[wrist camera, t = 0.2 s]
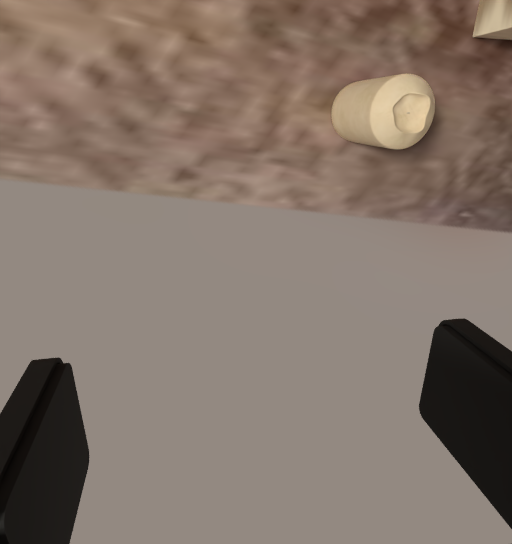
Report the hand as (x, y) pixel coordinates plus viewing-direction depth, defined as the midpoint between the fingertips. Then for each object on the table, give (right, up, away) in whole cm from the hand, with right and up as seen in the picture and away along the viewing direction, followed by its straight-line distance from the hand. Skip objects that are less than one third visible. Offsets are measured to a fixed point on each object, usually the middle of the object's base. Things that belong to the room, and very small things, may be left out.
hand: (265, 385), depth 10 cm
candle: (+10, +19, +29) cm, 35 cm away
